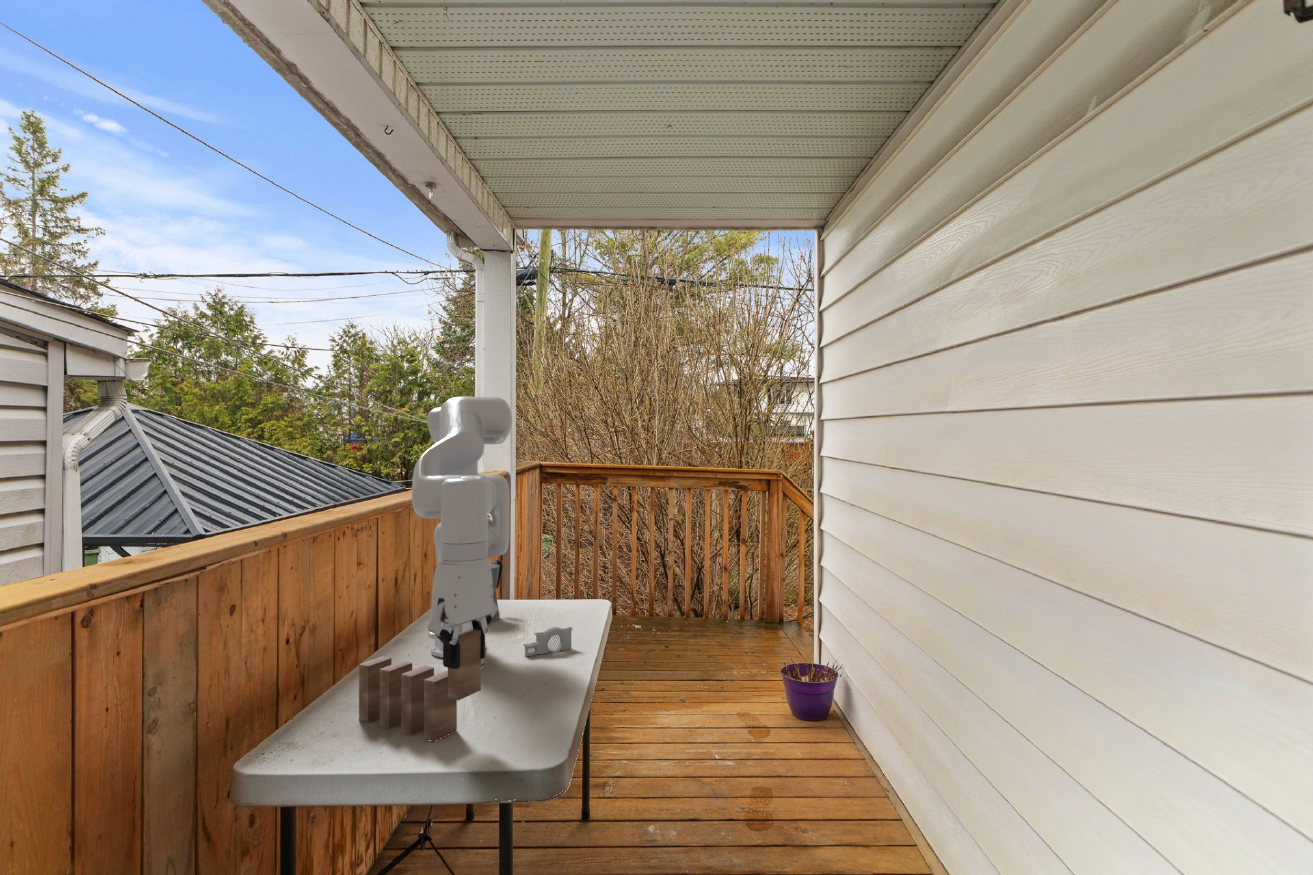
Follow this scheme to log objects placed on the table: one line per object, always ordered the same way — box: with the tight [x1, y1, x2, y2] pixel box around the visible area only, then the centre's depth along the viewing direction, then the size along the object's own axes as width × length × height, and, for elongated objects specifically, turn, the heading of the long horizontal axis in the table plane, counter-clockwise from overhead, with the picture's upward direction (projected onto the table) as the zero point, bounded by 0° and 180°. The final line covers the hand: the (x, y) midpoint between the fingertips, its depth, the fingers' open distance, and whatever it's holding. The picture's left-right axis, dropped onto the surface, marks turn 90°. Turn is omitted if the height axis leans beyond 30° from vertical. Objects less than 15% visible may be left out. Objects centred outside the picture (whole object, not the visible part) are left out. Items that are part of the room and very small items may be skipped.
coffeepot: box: [490, 559, 503, 623], centre depth 185 cm, size 15×9×18 cm, turn 159°
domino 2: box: [379, 660, 413, 730], centre depth 115 cm, size 2×5×10 cm, turn 151°
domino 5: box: [447, 629, 482, 701], centre depth 107 cm, size 2×5×10 cm, turn 151°
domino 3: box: [400, 665, 435, 736], centre depth 113 cm, size 2×5×10 cm, turn 151°
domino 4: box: [423, 670, 458, 743], centre depth 110 cm, size 2×5×10 cm, turn 151°
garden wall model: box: [523, 626, 574, 657], centre depth 154 cm, size 12×2×6 cm, turn 123°
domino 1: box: [358, 655, 393, 723], centre depth 118 cm, size 2×5×10 cm, turn 152°
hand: (464, 661), depth 107 cm, fingers closed on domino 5, 4 cm apart
